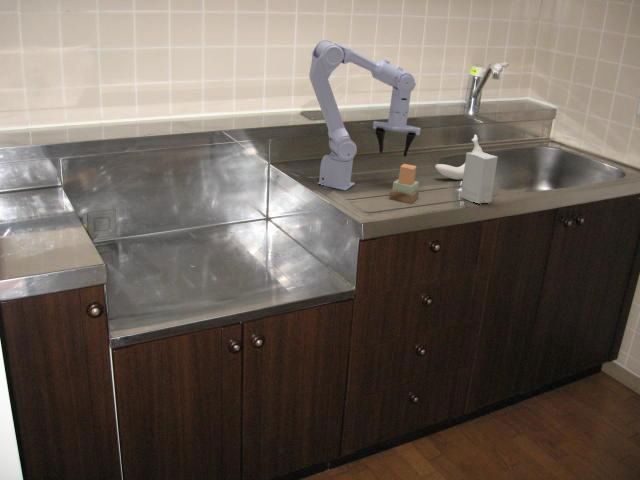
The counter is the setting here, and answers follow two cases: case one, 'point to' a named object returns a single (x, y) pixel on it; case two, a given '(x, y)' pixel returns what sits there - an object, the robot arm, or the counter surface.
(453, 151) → the counter surface
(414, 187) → the sage block
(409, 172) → the terracotta block
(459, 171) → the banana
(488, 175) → the skincare box
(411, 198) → the walnut slab
